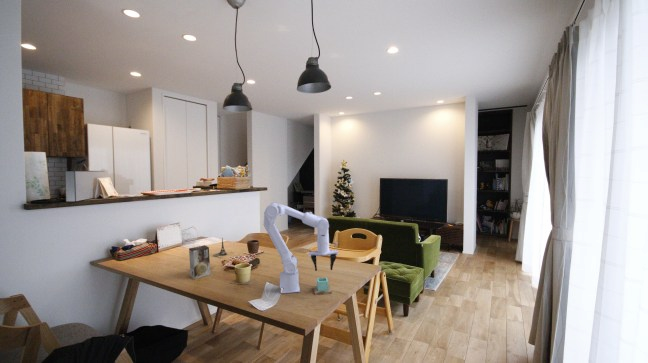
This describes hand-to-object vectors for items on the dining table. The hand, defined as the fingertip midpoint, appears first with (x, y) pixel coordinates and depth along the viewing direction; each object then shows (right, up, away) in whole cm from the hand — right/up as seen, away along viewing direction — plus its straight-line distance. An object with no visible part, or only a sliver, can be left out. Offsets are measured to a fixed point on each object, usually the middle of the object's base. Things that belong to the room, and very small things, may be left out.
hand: (323, 269), depth 143 cm
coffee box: (-70, -10, +21) cm, 74 cm away
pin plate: (-1, -10, -2) cm, 10 cm away
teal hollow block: (-1, -9, -2) cm, 9 cm away
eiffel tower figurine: (-72, -9, +61) cm, 94 cm away
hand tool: (-45, -9, +31) cm, 56 cm away
